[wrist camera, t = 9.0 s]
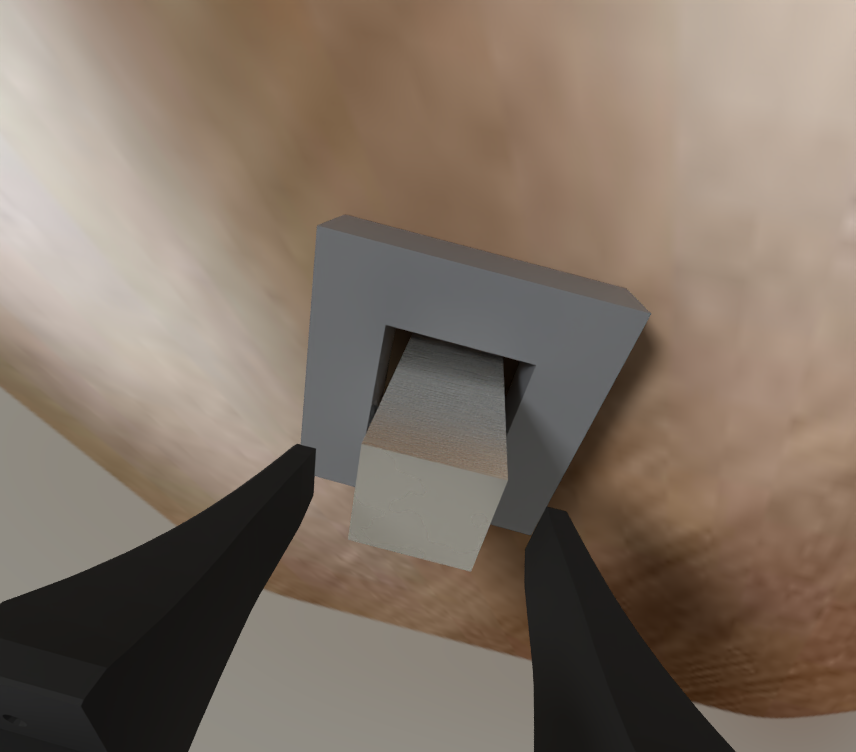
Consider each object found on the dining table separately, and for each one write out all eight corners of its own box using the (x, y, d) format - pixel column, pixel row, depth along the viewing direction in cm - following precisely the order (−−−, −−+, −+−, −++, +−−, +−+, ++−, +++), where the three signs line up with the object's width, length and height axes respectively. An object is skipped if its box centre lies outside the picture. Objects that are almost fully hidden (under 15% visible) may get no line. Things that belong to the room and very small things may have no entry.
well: (626, 288, 16) (651, 313, 14) (526, 491, 22) (530, 535, 20) (344, 214, 17) (317, 225, 14) (321, 435, 23) (298, 471, 20)
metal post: (502, 342, 18) (507, 480, 10) (480, 411, 20) (470, 571, 12) (417, 321, 18) (361, 443, 11) (404, 393, 20) (347, 539, 13)
